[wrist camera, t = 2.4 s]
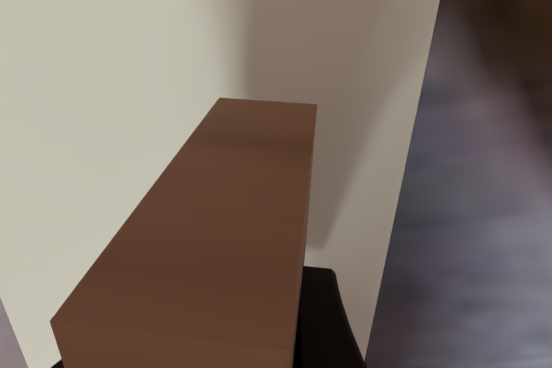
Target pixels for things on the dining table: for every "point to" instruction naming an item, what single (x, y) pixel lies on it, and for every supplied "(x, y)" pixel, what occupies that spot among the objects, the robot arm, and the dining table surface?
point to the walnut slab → (205, 252)
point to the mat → (194, 127)
